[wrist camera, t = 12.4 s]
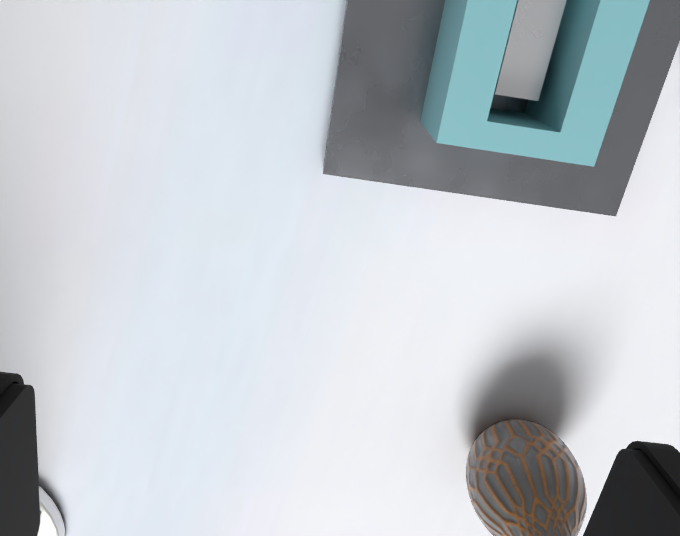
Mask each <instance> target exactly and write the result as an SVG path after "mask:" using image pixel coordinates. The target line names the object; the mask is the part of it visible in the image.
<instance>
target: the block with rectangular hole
mask: <svg viewBox="0 0 680 536" xmlns="http://www.w3.org/2000/svg"><path fill="white" fill-rule="evenodd" d="M649 1H650V0H567V1H566V4H565V8H564V11H563V15H562V18H561V22H560V25H559V29H558V33H557V36H556V40H555V43H554V47H553V50H552V54H551V57H550V61H549V65H548V68H547V72H546V75H545V79H544V82H543V86H542V89H541V93H540V96H539V100H538V101H535V100H528V103H527V106H526V110H525V113H520V112H514V111H507V110H501V109H494V108H490V107H491V103H492V99H493V95H494V91H495V87H496V83H497V79H498V75H499V71H500V67H501V63H502V59H503V55H504V51H505V47H506V43H507V39H508V35H509V31H510V27H511V23H512V19H513V15H514V11H515V7H516V3H517V0H445V4H444V9H443V13H442V18H441V23H440V28H439V33H438V38H437V43H436V48H435V53H434V57H433V62H432V67H431V72H430V77H429V82H428V87H427V92H426V96H425V101H424V106H423V111H422V116H421V121H420V122H421V124H422V125H423V126H424V127H425V129H426V130H427V131H428V133H429V134H430V135H431V136H432V138H433V139H434V140H435V142H436V143H440V144H447V145H454V146H460V147H467V148H473V149H480V150H487V151H493V152H500V153H506V154H513V155H520V156H526V157H533V158H540V159H546V160H553V161H559V162H566V163H573V164H579V165H586V166H592V167H594V165H595V162H596V159H597V157H598V154H599V151H600V148H601V145H602V142H603V139H604V136H605V133H606V130H607V127H608V124H609V121H610V118H611V115H612V112H613V109H614V106H615V103H616V100H617V97H618V94H619V91H620V88H621V85H622V82H623V79H624V76H625V73H626V70H627V67H628V64H629V61H630V58H631V55H632V52H633V49H634V46H635V43H636V40H637V37H638V34H639V31H640V28H641V25H642V22H643V19H644V16H645V13H646V10H647V7H648V4H649Z"/></svg>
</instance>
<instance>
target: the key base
mask: <svg viewBox="0 0 680 536" xmlns="http://www.w3.org/2000/svg"><path fill="white" fill-rule="evenodd" d="M566 1H567V0H517V3H516V7H515V11H514V15H513V19H512V23H511V27H510V31H509V35H508V39H507V43H506V47H505V51H504V55H503V59H502V63H501V67H500V71H499V75H498V79H497V83H496V87H495V91H494V95H493V99H492V103H491V107H490V108H494V109H501V110H507V111H514V112H520V113H525V110H526V106H527V103H528V100H535V101H538V100H539V96H540V93H541V89H542V86H543V82H544V79H545V75H546V72H547V68H548V65H549V61H550V57H551V54H552V50H553V47H554V43H555V40H556V36H557V33H558V29H559V25H560V22H561V18H562V15H563V11H564V8H565V4H566ZM444 4H445V0H347V5H346V12H345V19H344V26H343V33H342V40H341V47H340V54H339V62H338V69H337V76H336V83H335V90H334V97H333V104H332V111H331V118H330V125H329V132H328V139H327V146H326V153H325V160H324V167H323V174H328V175H334V176H341V177H348V178H355V179H362V180H369V181H376V182H383V183H390V184H397V185H404V186H410V187H417V188H424V189H431V190H438V191H445V192H452V193H459V194H466V195H473V196H479V197H486V198H493V199H500V200H507V201H514V202H521V203H528V204H535V205H542V206H548V207H555V208H562V209H569V210H576V211H583V212H590V213H597V214H604V215H611V216H616V214H617V211H618V209H619V206H620V203H621V200H622V198H623V195H624V192H625V189H626V187H627V184H628V181H629V178H630V176H631V173H632V170H633V167H634V165H635V162H636V159H637V156H638V154H639V151H640V148H641V145H642V143H643V140H644V137H645V134H646V132H647V129H648V126H649V123H650V121H651V118H652V115H653V112H654V110H655V107H656V104H657V101H658V99H659V96H660V93H661V90H662V88H663V85H664V82H665V79H666V77H667V74H668V71H669V68H670V65H671V63H672V60H673V57H674V54H675V52H676V49H677V46H678V43H679V41H680V0H650V1H649V4H648V7H647V10H646V13H645V16H644V19H643V22H642V25H641V28H640V31H639V34H638V37H637V40H636V43H635V46H634V49H633V52H632V55H631V58H630V61H629V64H628V67H627V70H626V73H625V76H624V79H623V82H622V85H621V88H620V91H619V94H618V97H617V100H616V103H615V106H614V109H613V112H612V115H611V118H610V121H609V124H608V127H607V130H606V133H605V136H604V139H603V142H602V145H601V148H600V151H599V154H598V157H597V159H596V162H595V165H594V167H592V166H586V165H579V164H573V163H566V162H559V161H553V160H546V159H540V158H533V157H526V156H520V155H513V154H506V153H500V152H493V151H487V150H480V149H473V148H467V147H460V146H454V145H447V144H440V143H436V142H435V140H434V139H433V138H432V136H431V135H430V134H429V133H428V131H427V130H426V129H425V127H424V126H423V125H422V124H421V122H420V121H421V116H422V111H423V106H424V101H425V96H426V92H427V87H428V82H429V77H430V72H431V67H432V62H433V57H434V53H435V48H436V43H437V38H438V33H439V28H440V23H441V18H442V13H443V9H444Z"/></svg>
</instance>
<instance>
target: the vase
mask: <svg viewBox="0 0 680 536" xmlns="http://www.w3.org/2000/svg"><path fill="white" fill-rule="evenodd" d="M466 481H467V487H468V492H469V496H470V499H471V502H472V505H473V507H474V509H475V511H476V513H477V515H478V517H479V518H480V520H481V521H482V523H483V524H484V525H485V527H486V528H487V529H488V530H489V532H490V533H491V534H492V535H493V536H577V535H578V533H579V531H580V528H581V526H582V523H583V521H584V518H585V513H586V506H587V497H586V488H585V483H584V478H583V475H582V472H581V470H580V467H579V465H578V463H577V461H576V460H575V458H574V456H573V455H572V453H571V451H570V450H569V449H568V447H567V446H566V445H565V444H564V442H563V441H562V440H561V439H560V438H559V437H558V436H556V435H555V434H554V433H553V432H551V431H550V430H548V429H547V428H545V427H544V426H542V425H540V424H537V423H535V422H531V421H527V420H520V419H513V420H506V421H502V422H499V423H496V424H494V425H492V426H490V427H488V428H487V429H486V430H484V431H483V432H482V433H481V434H480V435H479V436H478V438H477V439H476V440H475V442H474V443H473V445H472V447H471V449H470V452H469V455H468V459H467V465H466Z"/></svg>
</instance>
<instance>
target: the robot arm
mask: <svg viewBox="0 0 680 536" xmlns="http://www.w3.org/2000/svg"><path fill="white" fill-rule="evenodd" d="M0 536H65V527H64V523H63V520H62V517H61V514H60V512H59V510H58V508H57V507H56V505H55V503H54V502H53V500H52V499H51V498H50V497H49V496H48V495H47V493H46V492H45V491H44V490H43V489H42V488H41V487H40V486H39V480H38V458H37V436H36V414H35V393H34V389H33V387H32V386H31V385H24V382H23V379H22V377H21V375H19V374H15V373H5V372H0ZM583 536H680V453H679V451H678V450H677V449H675V448H674V447H673V446H671V445H668V444H660V443H650V442H641V441H635V442H632V443H631V444H629V445H628V447H627V448H626V449H622V450H621V451H619V453H618V454H617V456H616V459H615V461H614V463H613V466H612V468H611V470H610V473H609V475H608V478H607V480H606V482H605V485H604V487H603V489H602V492H601V494H600V497H599V499H598V501H597V504H596V506H595V509H594V511H593V513H592V516H591V518H590V520H589V523H588V525H587V528H586V530H585V532H584V535H583Z"/></svg>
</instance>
